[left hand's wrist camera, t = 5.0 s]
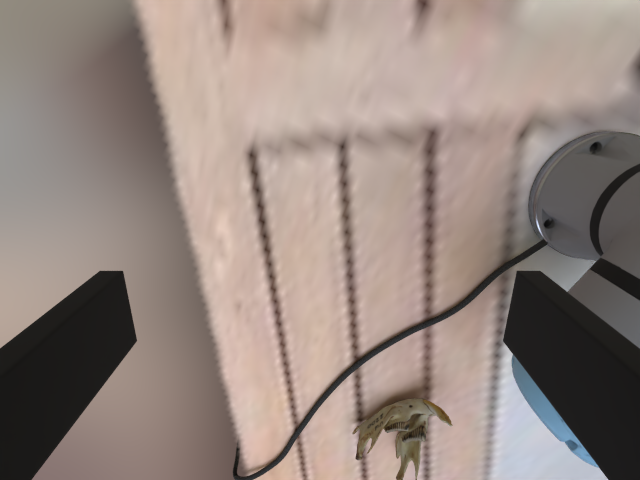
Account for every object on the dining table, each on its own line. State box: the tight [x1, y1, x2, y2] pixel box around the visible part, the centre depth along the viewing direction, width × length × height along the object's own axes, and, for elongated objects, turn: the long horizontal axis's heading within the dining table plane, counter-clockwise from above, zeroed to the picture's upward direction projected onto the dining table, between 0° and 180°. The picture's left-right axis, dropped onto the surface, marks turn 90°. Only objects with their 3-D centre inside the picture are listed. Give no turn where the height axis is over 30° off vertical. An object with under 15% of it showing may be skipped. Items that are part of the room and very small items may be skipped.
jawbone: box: [352, 398, 453, 480], centre depth 54 cm, size 9×15×10 cm
